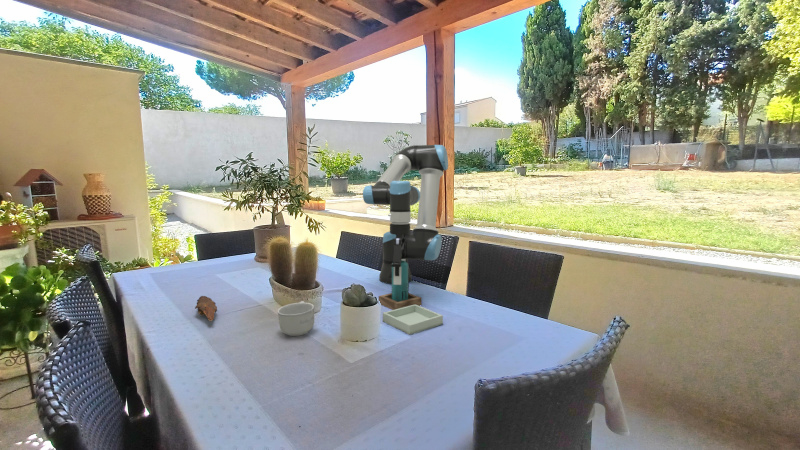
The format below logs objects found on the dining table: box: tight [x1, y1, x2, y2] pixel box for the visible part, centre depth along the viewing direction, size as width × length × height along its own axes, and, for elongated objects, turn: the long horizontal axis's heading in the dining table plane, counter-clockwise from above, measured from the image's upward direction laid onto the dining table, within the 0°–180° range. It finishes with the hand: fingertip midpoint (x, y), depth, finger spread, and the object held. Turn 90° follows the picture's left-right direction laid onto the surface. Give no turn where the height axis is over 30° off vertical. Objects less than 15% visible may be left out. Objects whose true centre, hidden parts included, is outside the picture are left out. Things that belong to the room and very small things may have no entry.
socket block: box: [378, 292, 423, 311], centre depth 144 cm, size 12×12×3 cm
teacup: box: [277, 300, 315, 337], centre depth 119 cm, size 14×11×8 cm
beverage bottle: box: [391, 252, 410, 302], centre depth 143 cm, size 6×7×20 cm
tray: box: [382, 304, 444, 336], centre depth 126 cm, size 14×14×3 cm
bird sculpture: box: [194, 295, 218, 322], centre depth 132 cm, size 7×25×5 cm, turn 36°
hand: (399, 279), depth 143 cm, fingers open, 13 cm apart
